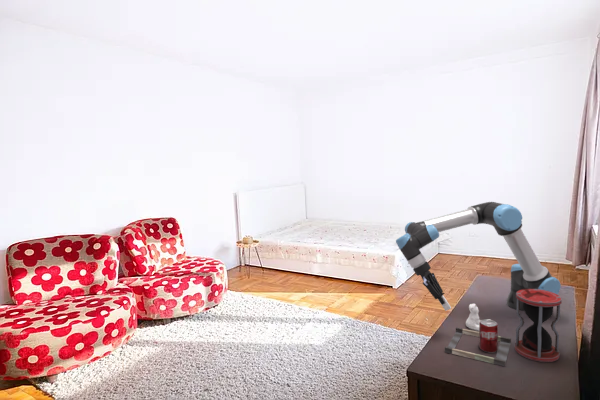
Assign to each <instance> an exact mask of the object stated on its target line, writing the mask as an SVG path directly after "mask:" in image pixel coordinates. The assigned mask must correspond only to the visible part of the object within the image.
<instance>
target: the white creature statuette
mask: <svg viewBox="0 0 600 400" xmlns="http://www.w3.org/2000/svg"><path fill="white" fill-rule="evenodd" d="M468 309H469V311H470V313H469V315H468V318H466V320H465V326H466V327H467V328H468V329H469V330H472V331H477V332H479V322H480V321H481V320H482V319H480V318H481V317H480V316H479V312H480V310H479V307H478V306H477V304H476V303H470V304H469V305H468Z"/></svg>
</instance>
